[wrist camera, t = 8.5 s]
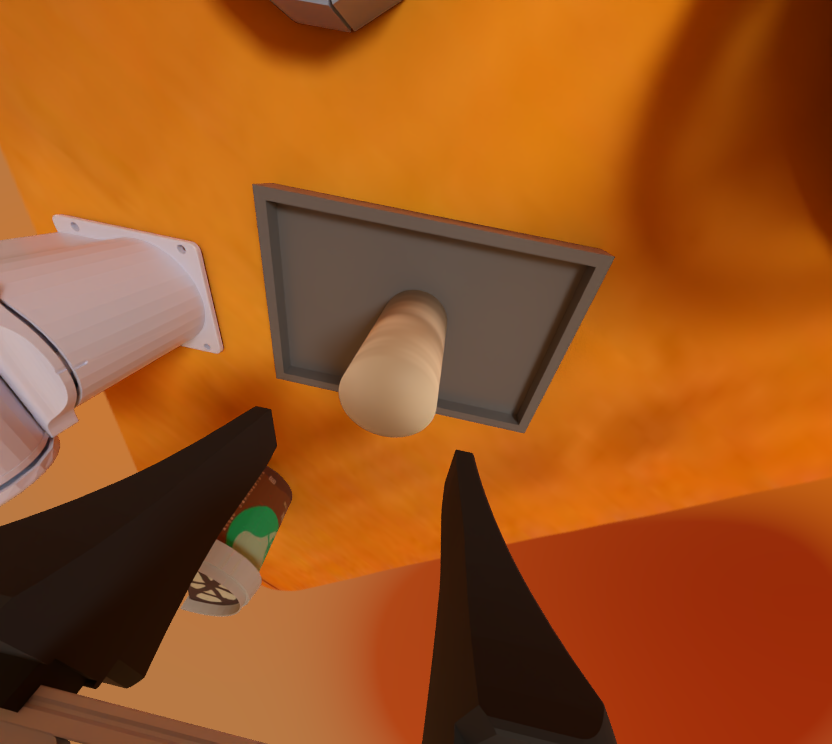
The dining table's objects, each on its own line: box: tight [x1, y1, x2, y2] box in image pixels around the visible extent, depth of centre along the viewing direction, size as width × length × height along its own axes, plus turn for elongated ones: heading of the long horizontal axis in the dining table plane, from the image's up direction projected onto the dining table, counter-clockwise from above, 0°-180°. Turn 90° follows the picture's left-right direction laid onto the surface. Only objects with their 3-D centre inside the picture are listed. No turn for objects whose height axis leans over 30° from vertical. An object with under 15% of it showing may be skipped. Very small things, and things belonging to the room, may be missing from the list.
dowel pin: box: [339, 290, 447, 437], centre depth 15 cm, size 4×4×8 cm
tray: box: [252, 183, 615, 433], centre depth 19 cm, size 18×12×2 cm, turn 81°
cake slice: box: [181, 466, 292, 616], centre depth 29 cm, size 12×6×10 cm, turn 159°
